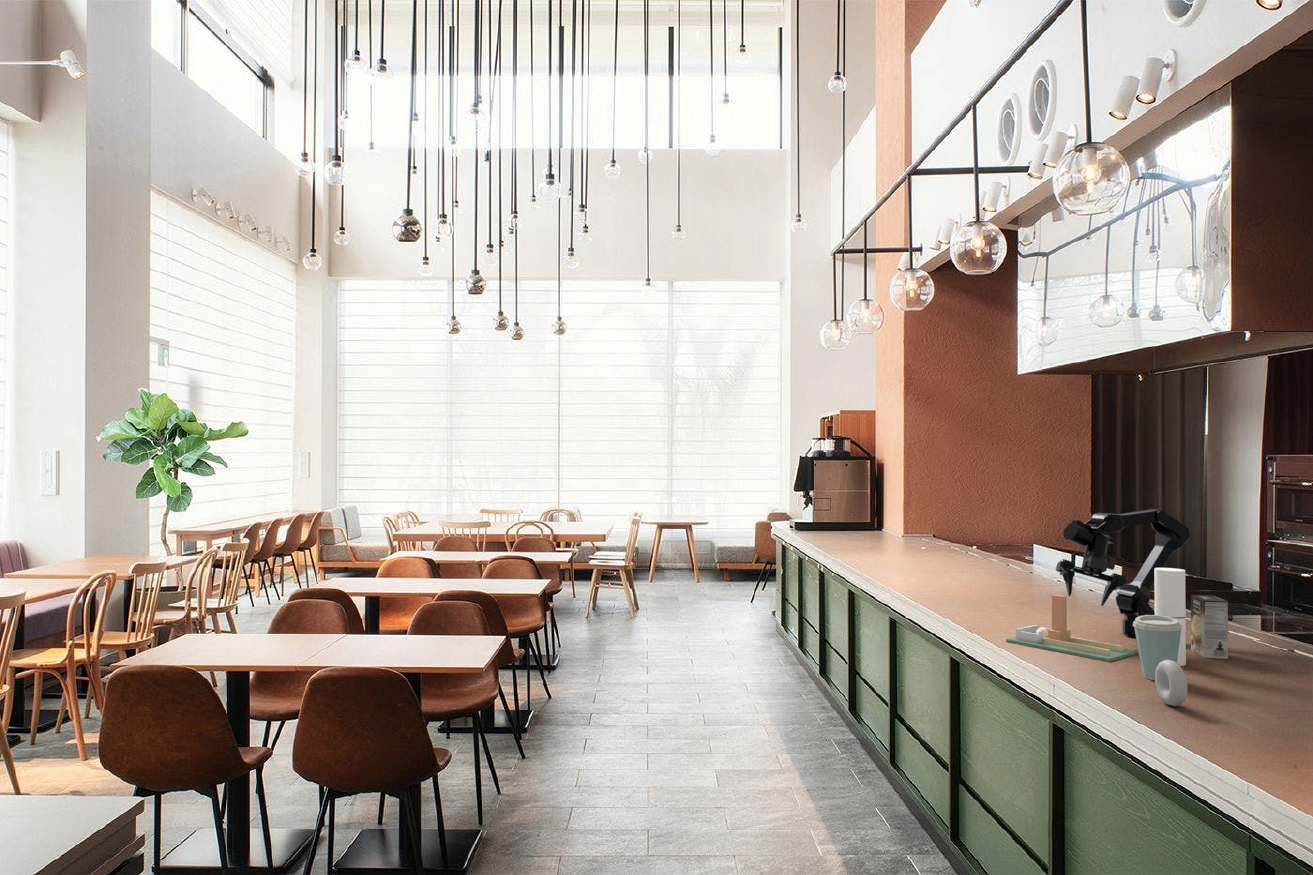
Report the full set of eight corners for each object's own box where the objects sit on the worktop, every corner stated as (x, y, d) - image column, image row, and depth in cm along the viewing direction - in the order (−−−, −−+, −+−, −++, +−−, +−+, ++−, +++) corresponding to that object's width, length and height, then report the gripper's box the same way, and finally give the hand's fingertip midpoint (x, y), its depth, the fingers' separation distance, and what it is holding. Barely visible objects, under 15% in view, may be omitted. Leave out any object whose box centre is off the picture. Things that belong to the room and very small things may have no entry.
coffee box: (1189, 650, 243) (1189, 594, 243) (1214, 651, 242) (1214, 595, 242) (1203, 658, 234) (1203, 599, 234) (1229, 659, 233) (1229, 600, 233)
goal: (1036, 634, 260) (1036, 622, 260) (1062, 639, 253) (1062, 627, 253) (1015, 639, 253) (1015, 627, 253) (1041, 644, 246) (1041, 631, 246)
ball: (1046, 638, 254) (1048, 627, 253) (1048, 642, 250) (1050, 631, 250) (1033, 636, 254) (1035, 625, 254) (1035, 640, 251) (1038, 628, 251)
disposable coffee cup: (1182, 686, 205) (1182, 623, 205) (1131, 679, 210) (1131, 619, 211) (1182, 676, 214) (1182, 617, 214) (1133, 670, 219) (1133, 612, 220)
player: (1058, 639, 251) (1058, 593, 251) (1070, 641, 248) (1070, 595, 249) (1048, 642, 248) (1048, 595, 248) (1059, 644, 245) (1059, 597, 245)
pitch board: (1034, 635, 262) (1034, 627, 262) (1136, 653, 238) (1136, 645, 238) (1006, 641, 253) (1006, 633, 253) (1109, 661, 229) (1109, 653, 229)
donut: (1152, 698, 194) (1151, 654, 194) (1167, 699, 194) (1167, 655, 194) (1174, 711, 184) (1173, 665, 184) (1191, 712, 184) (1190, 666, 184)
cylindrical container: (1175, 666, 224) (1175, 571, 224) (1149, 661, 230) (1148, 568, 230) (1191, 664, 227) (1191, 570, 227) (1165, 658, 233) (1164, 567, 234)
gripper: (1069, 536, 254) (1059, 585, 250) (1137, 554, 249) (1128, 605, 244) (1060, 545, 264) (1050, 593, 260) (1125, 563, 259) (1116, 612, 254)
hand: (1085, 600), depth 254 cm, fingers open, 9 cm apart
